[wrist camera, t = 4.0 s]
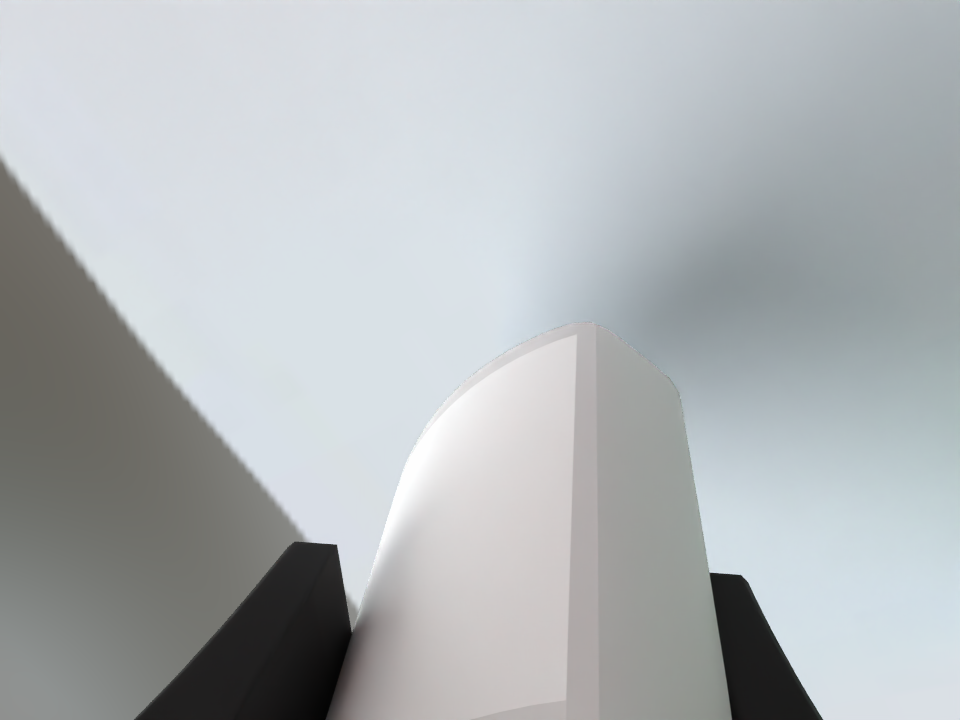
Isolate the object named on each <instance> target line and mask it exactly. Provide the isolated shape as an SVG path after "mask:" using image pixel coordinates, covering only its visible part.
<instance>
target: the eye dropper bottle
mask: <svg viewBox="0 0 960 720" xmlns="http://www.w3.org/2000/svg"><path fill="white" fill-rule="evenodd" d="M326 720H732V717H731V709H730V702H729V694H728V687H727V681H726V675H725V668H724V662H723V656H722V650H721V643H720V637H719V631H718V624H717V618H716V612H715V606H714V599H713V593H712V587H711V580H710V574H709V568H708V562H707V555H706V549H705V543H704V537H703V531H702V524H701V518H700V512H699V506H698V500H697V494H696V488H695V482H694V476H693V470H692V464H691V458H690V452H689V446H688V440H687V434H686V428H685V422H684V416H683V410H682V404H681V399H680V395H679V392H678V391H677V389H676V387H675V386H674V384H673V383H672V381H671V380H670V378H669V377H668V376H667V375H665V374H664V373H663V372H662V371H661V370H660V369H658V368H657V367H656V366H655V365H654V364H652V363H651V362H650V361H649V360H647V359H646V358H645V357H644V356H642V355H641V354H640V353H639V352H637V351H636V350H635V349H634V348H632V347H631V346H630V345H629V344H627V343H626V342H625V341H623V340H622V339H621V338H619V337H618V336H617V335H615V334H614V333H613V332H611V331H610V330H608V329H606V328H604V327H601V326H599V325H596V324H594V323H592V322H583V323H570V324H567V325H564V326H561V327H558V328H555V329H552V330H550V331H547V332H545V333H543V334H540V335H538V336H536V337H534V338H531V339H529V340H527V341H525V342H523V343H521V344H519V345H517V346H516V347H514V348H512V349H510V350H508V351H506V352H505V353H503V354H501V355H500V356H498V357H497V358H495V359H494V360H492V361H490V362H489V363H488V364H486V365H485V366H483V367H482V368H481V369H479V370H478V371H477V372H475V373H474V374H473V375H472V376H470V377H469V378H468V379H467V380H466V381H464V382H463V383H462V384H461V385H460V386H459V387H458V388H457V389H456V390H455V391H454V392H453V393H452V394H451V395H450V396H449V397H448V398H447V399H446V400H445V401H444V403H443V404H442V405H441V406H440V407H439V409H438V410H437V411H436V412H435V414H434V415H433V417H432V418H431V419H430V421H429V422H428V424H427V425H426V427H425V428H424V430H423V431H422V433H421V435H420V436H419V438H418V440H417V442H416V444H415V446H414V448H413V450H412V452H411V454H410V456H409V458H408V460H407V463H406V465H405V468H404V470H403V473H402V476H401V479H400V482H399V485H398V488H397V491H396V494H395V497H394V500H393V503H392V507H391V510H390V513H389V516H388V519H387V523H386V526H385V529H384V532H383V536H382V539H381V542H380V545H379V548H378V552H377V555H376V558H375V561H374V564H373V568H372V571H371V574H370V577H369V581H368V584H367V587H366V590H365V593H364V597H363V600H362V603H361V606H360V610H359V613H358V616H357V619H356V622H355V626H354V629H353V632H352V635H351V639H350V642H349V645H348V648H347V652H346V655H345V658H344V661H343V665H342V668H341V671H340V675H339V678H338V681H337V684H336V688H335V691H334V694H333V697H332V701H331V704H330V707H329V710H328V714H327V717H326Z"/></svg>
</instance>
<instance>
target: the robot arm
mask: <svg viewBox="0 0 960 720" xmlns="http://www.w3.org/2000/svg"><path fill="white" fill-rule="evenodd" d="M709 574H710V580H711V587H712V593H713V599H714V606H715V612H716V618H717V624H718V631H719V637H720V643H721V650H722V656H723V662H724V668H725V675H726V681H727V687H728V694H729V702H730V709H731V717H732V720H823V719H822V717H821V716H820V714H819V712H818V711H817V709H816V708H815V706H814V704H813V703H812V701H811V699H810V698H809V696H808V694H807V693H806V691H805V689H804V688H803V686H802V684H801V682H800V681H799V679H798V677H797V676H796V674H795V672H794V670H793V668H792V667H791V665H790V663H789V661H788V659H787V658H786V656H785V654H784V652H783V650H782V649H781V647H780V645H779V643H778V641H777V639H776V637H775V636H774V634H773V632H772V630H771V628H770V626H769V624H768V622H767V620H766V618H765V616H764V614H763V612H762V610H761V608H760V606H759V604H758V602H757V600H756V598H755V596H754V594H753V592H752V590H751V588H750V586H749V583H748V582H747V581H746V580H745V579H744V578H743V577H742V576H741V575H733V574H719V573H709ZM351 635H352V632H351V627H350V621H349V615H348V608H347V602H346V596H345V590H344V584H343V578H342V573H341V567H340V561H339V555H338V549H337V545H333V544H320V543H307V542H294V543H293V544H291V545H290V546H289V547H288V548H287V549H286V550H285V551H284V553H283V554H282V555H281V556H280V558H279V559H278V560H277V561H276V562H275V564H274V565H273V566H272V567H271V569H270V570H269V571H268V572H267V573H266V575H265V576H264V577H263V578H262V580H261V581H260V582H259V583H258V584H257V586H256V587H255V588H254V589H253V590H252V591H251V593H250V594H249V595H248V596H247V598H246V599H245V600H244V601H243V602H242V603H241V604H240V606H239V607H238V608H237V609H236V610H235V612H234V613H233V614H232V615H231V616H230V617H229V618H228V620H227V621H226V622H225V623H224V625H222V627H221V628H220V629H219V630H218V631H217V632H216V633H215V634H214V635H213V637H212V638H211V639H210V640H209V641H208V642H207V643H206V644H205V646H204V647H203V648H202V649H201V650H200V651H199V652H198V653H197V654H196V655H195V656H194V658H193V659H192V660H191V661H190V662H189V663H188V664H187V665H186V666H185V668H184V669H183V670H182V671H181V672H180V673H179V674H178V675H177V676H176V677H175V678H174V679H173V680H172V681H171V682H170V684H169V685H168V686H167V687H166V688H165V689H164V690H163V691H162V692H161V693H160V694H159V695H158V696H157V697H156V698H155V699H154V700H153V701H152V702H151V703H150V704H149V705H148V706H147V707H146V708H145V709H144V710H143V711H142V712H141V713H140V714H139V715H138V716H137V717H136V718H135V719H134V720H326V717H327V714H328V710H329V707H330V704H331V701H332V697H333V694H334V691H335V688H336V684H337V681H338V678H339V675H340V671H341V668H342V665H343V661H344V658H345V655H346V652H347V648H348V645H349V642H350V639H351Z"/></svg>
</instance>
